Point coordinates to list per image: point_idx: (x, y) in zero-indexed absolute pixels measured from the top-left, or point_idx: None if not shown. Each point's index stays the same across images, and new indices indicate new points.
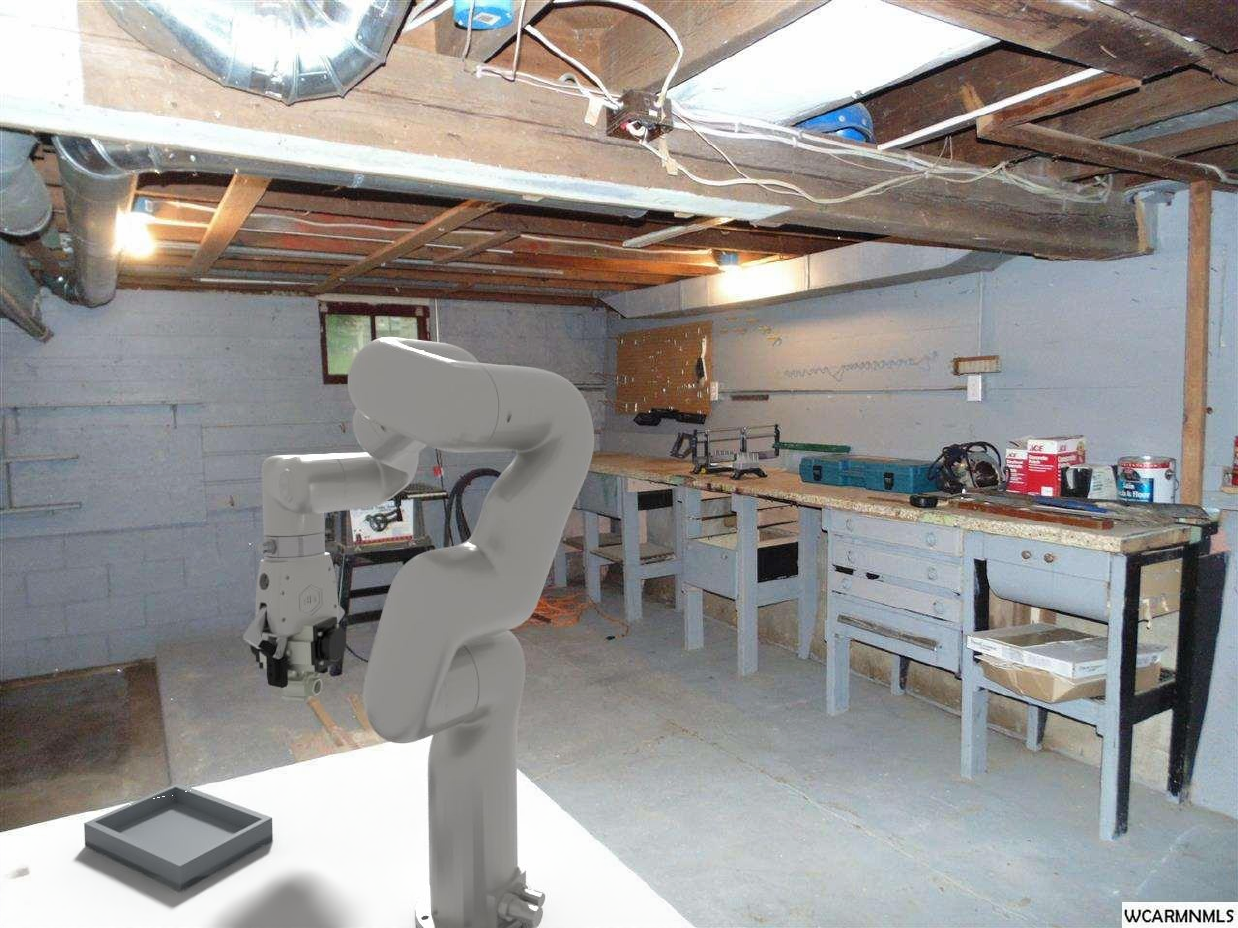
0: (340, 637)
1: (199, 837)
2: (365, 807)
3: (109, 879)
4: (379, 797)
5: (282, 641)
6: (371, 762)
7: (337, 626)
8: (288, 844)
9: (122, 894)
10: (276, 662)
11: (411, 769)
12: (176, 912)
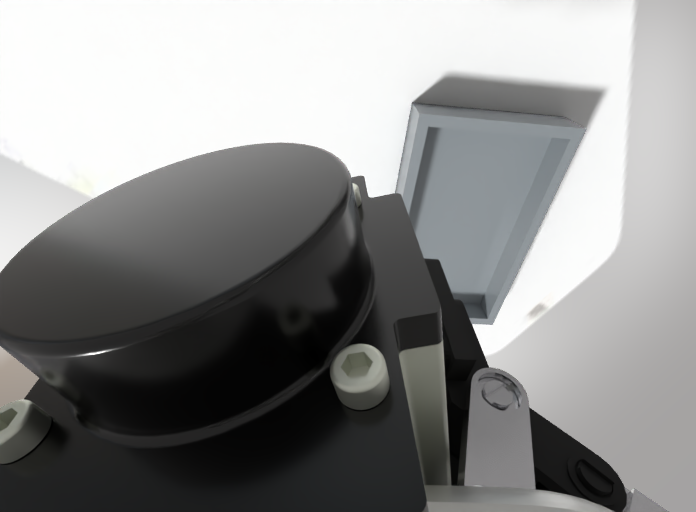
0: (101, 252)
1: (450, 203)
2: (250, 18)
3: (542, 226)
4: (204, 20)
5: (502, 466)
6: (123, 153)
7: (9, 418)
8: (414, 63)
9: (573, 184)
10: (476, 361)
11: (75, 45)
12: (615, 74)
